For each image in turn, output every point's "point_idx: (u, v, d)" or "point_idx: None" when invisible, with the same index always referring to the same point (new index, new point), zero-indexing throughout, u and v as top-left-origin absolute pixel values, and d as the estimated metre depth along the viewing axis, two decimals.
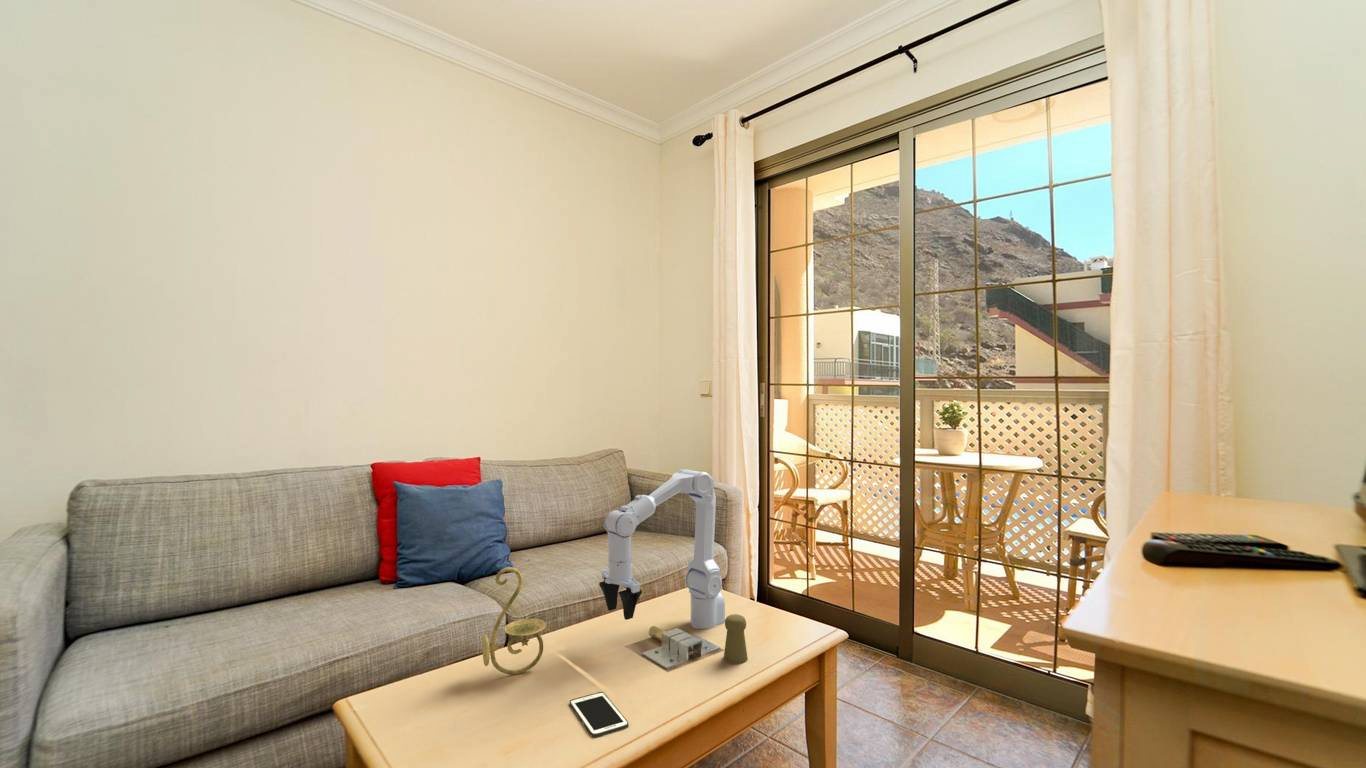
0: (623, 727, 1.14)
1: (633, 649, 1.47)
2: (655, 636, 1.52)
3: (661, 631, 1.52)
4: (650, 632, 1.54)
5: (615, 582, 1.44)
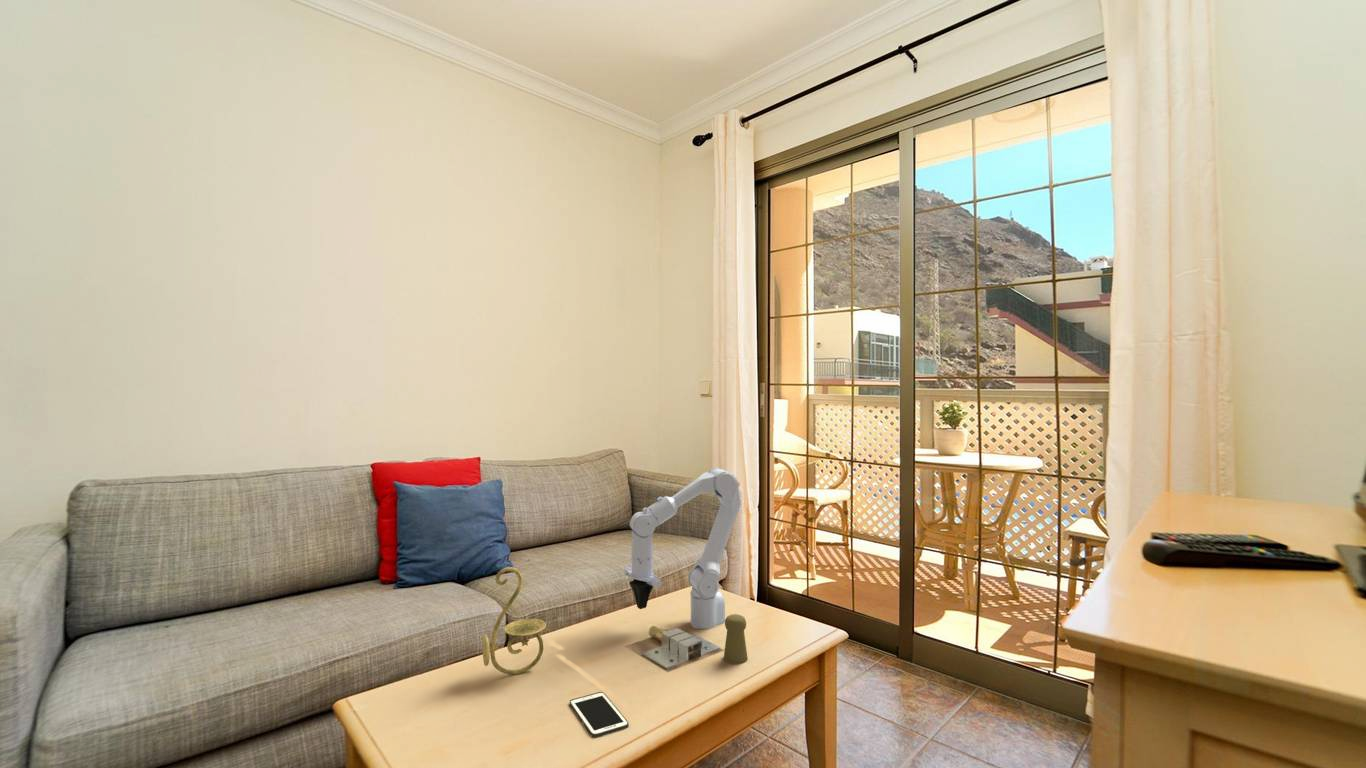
0: (623, 727, 1.14)
1: (633, 649, 1.47)
2: (655, 636, 1.52)
3: (661, 631, 1.52)
4: (650, 632, 1.54)
5: (638, 578, 1.56)
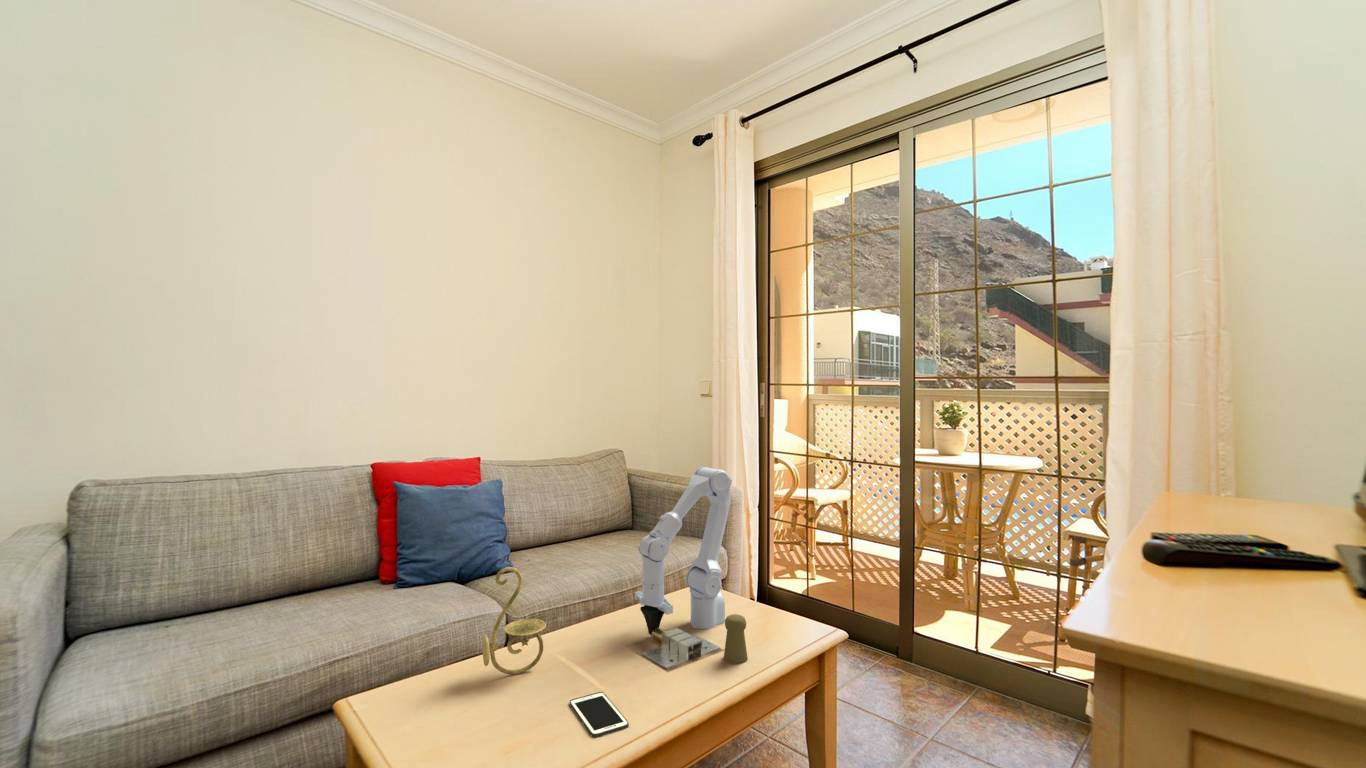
0: (623, 727, 1.14)
1: (633, 649, 1.47)
2: (658, 638, 1.51)
3: None
4: (653, 634, 1.53)
5: (649, 604, 1.52)
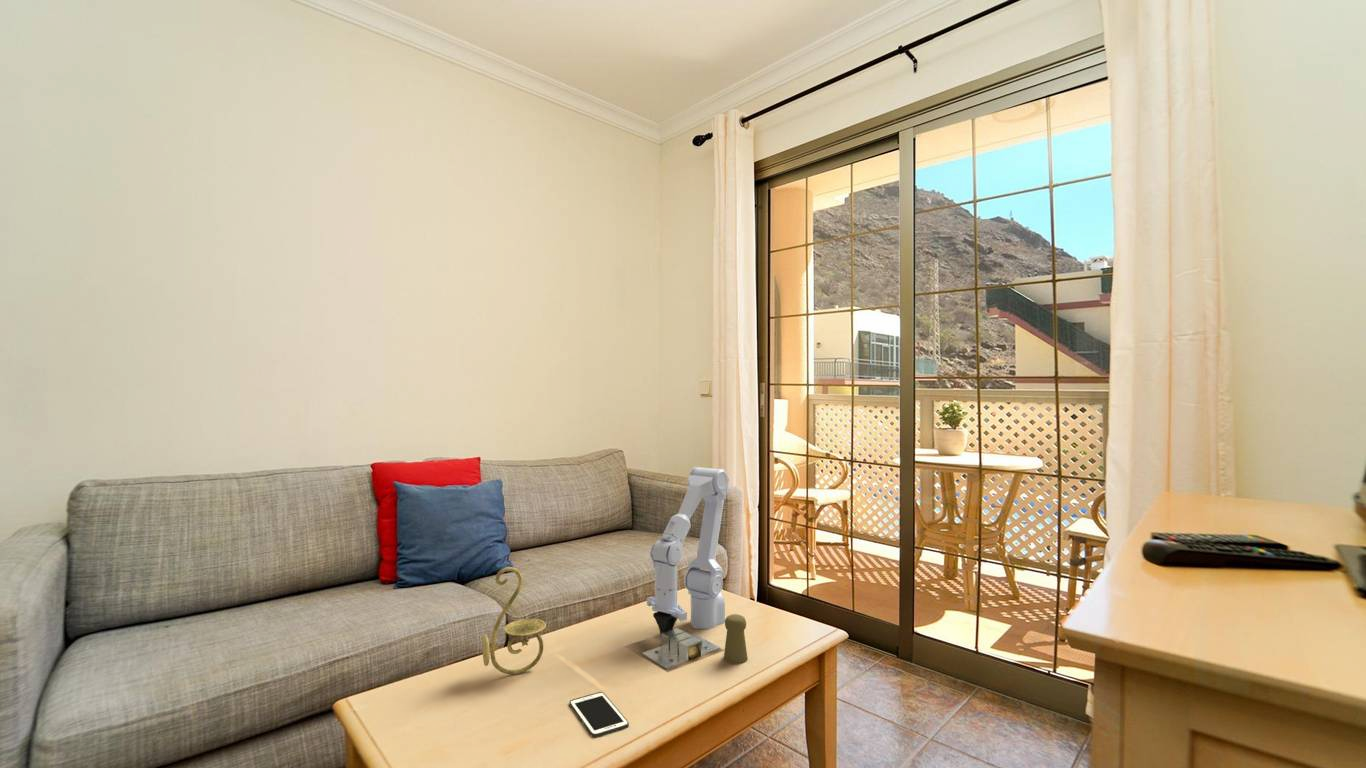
0: (623, 727, 1.14)
1: (633, 649, 1.47)
2: None
3: None
4: None
5: (662, 610, 1.48)
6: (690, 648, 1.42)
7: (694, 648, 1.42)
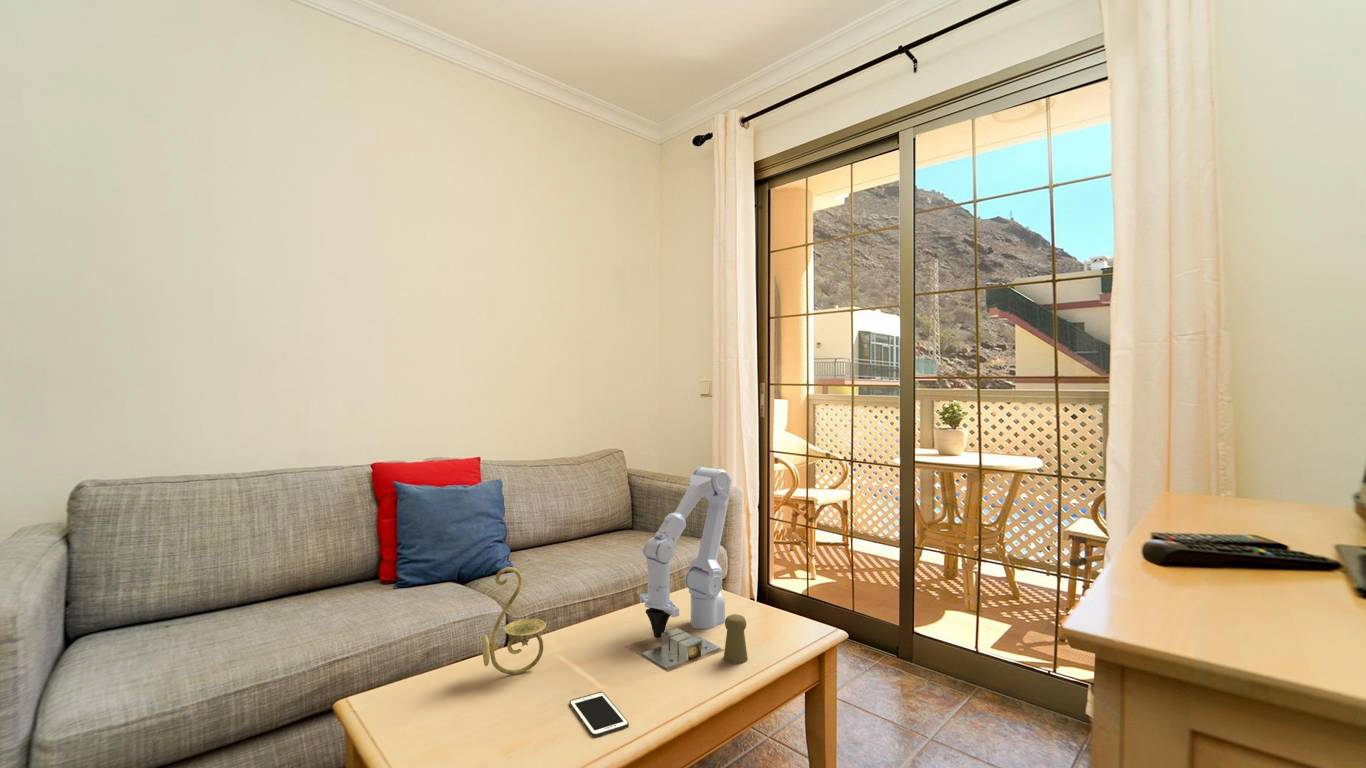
0: (623, 727, 1.14)
1: (633, 649, 1.47)
2: None
3: None
4: None
5: (655, 606, 1.50)
6: (690, 648, 1.42)
7: (694, 648, 1.42)
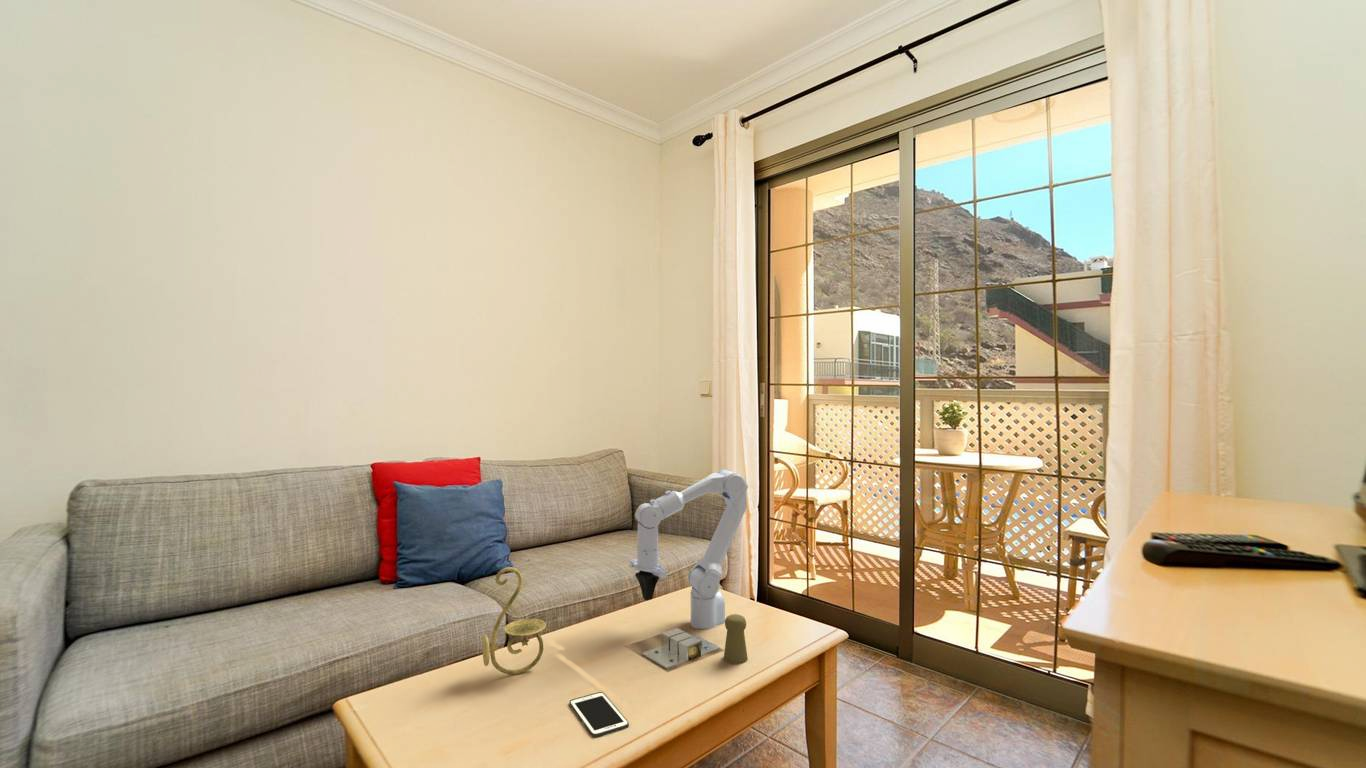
0: (623, 727, 1.14)
1: (633, 649, 1.47)
2: None
3: None
4: None
5: (644, 569, 1.56)
6: (690, 648, 1.42)
7: (694, 648, 1.42)
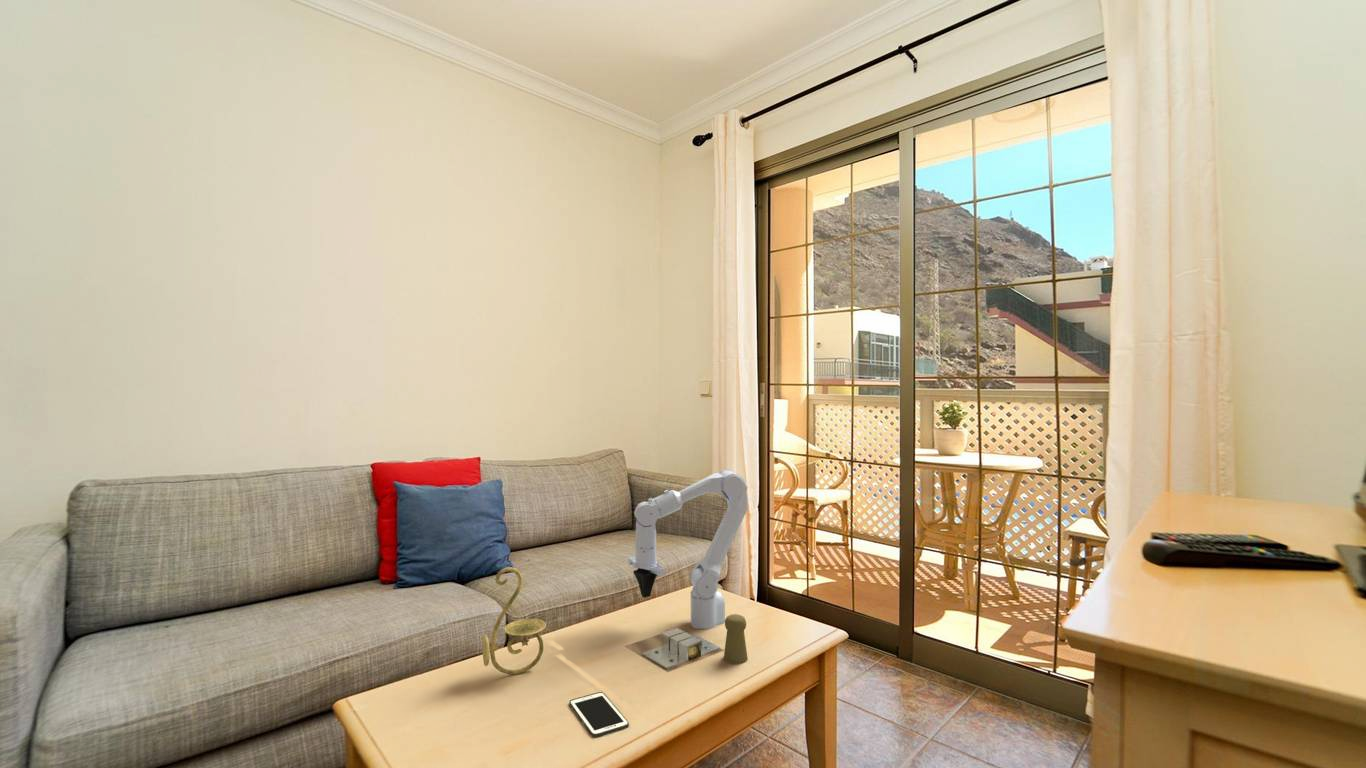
0: (623, 727, 1.14)
1: (633, 649, 1.47)
2: None
3: None
4: None
5: (642, 567, 1.58)
6: (690, 648, 1.42)
7: (694, 648, 1.42)
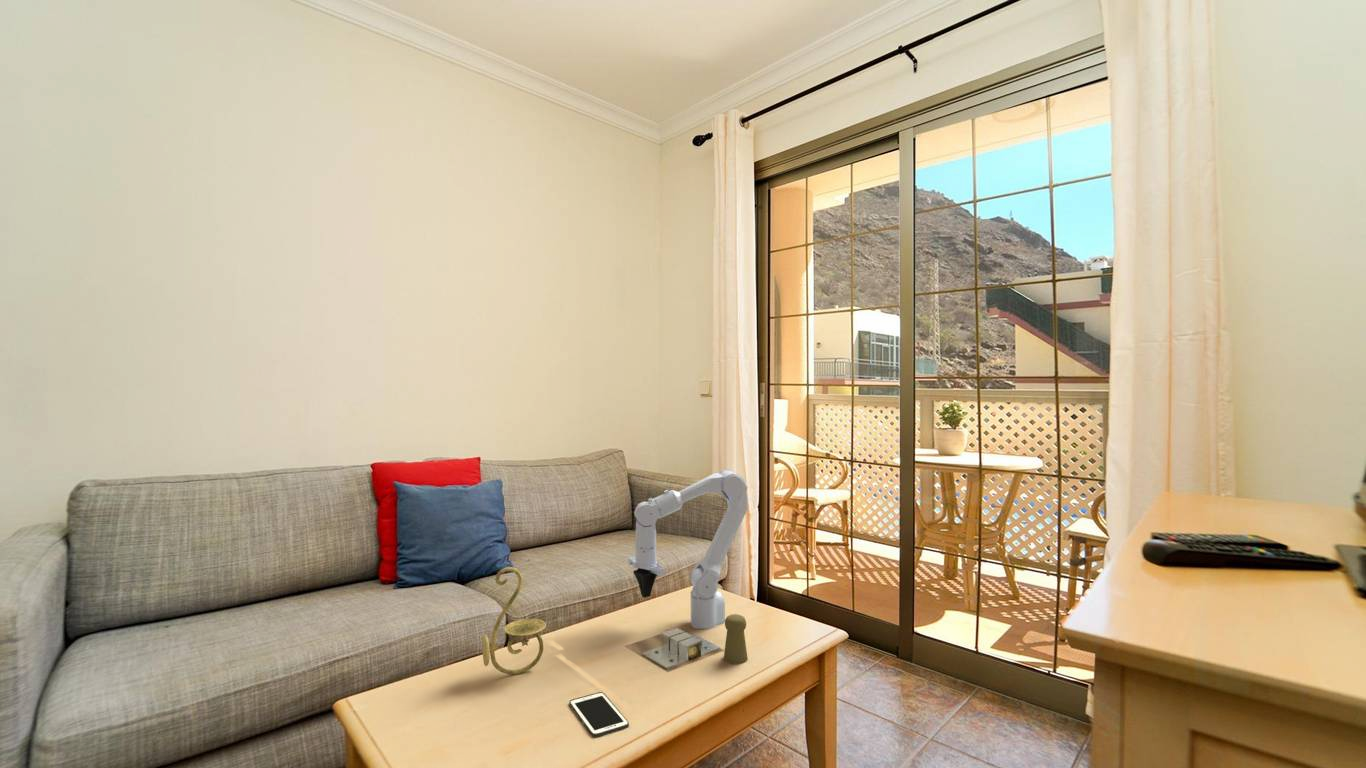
0: (623, 727, 1.14)
1: (633, 649, 1.47)
2: None
3: None
4: None
5: (642, 567, 1.58)
6: (690, 648, 1.42)
7: (694, 648, 1.42)
